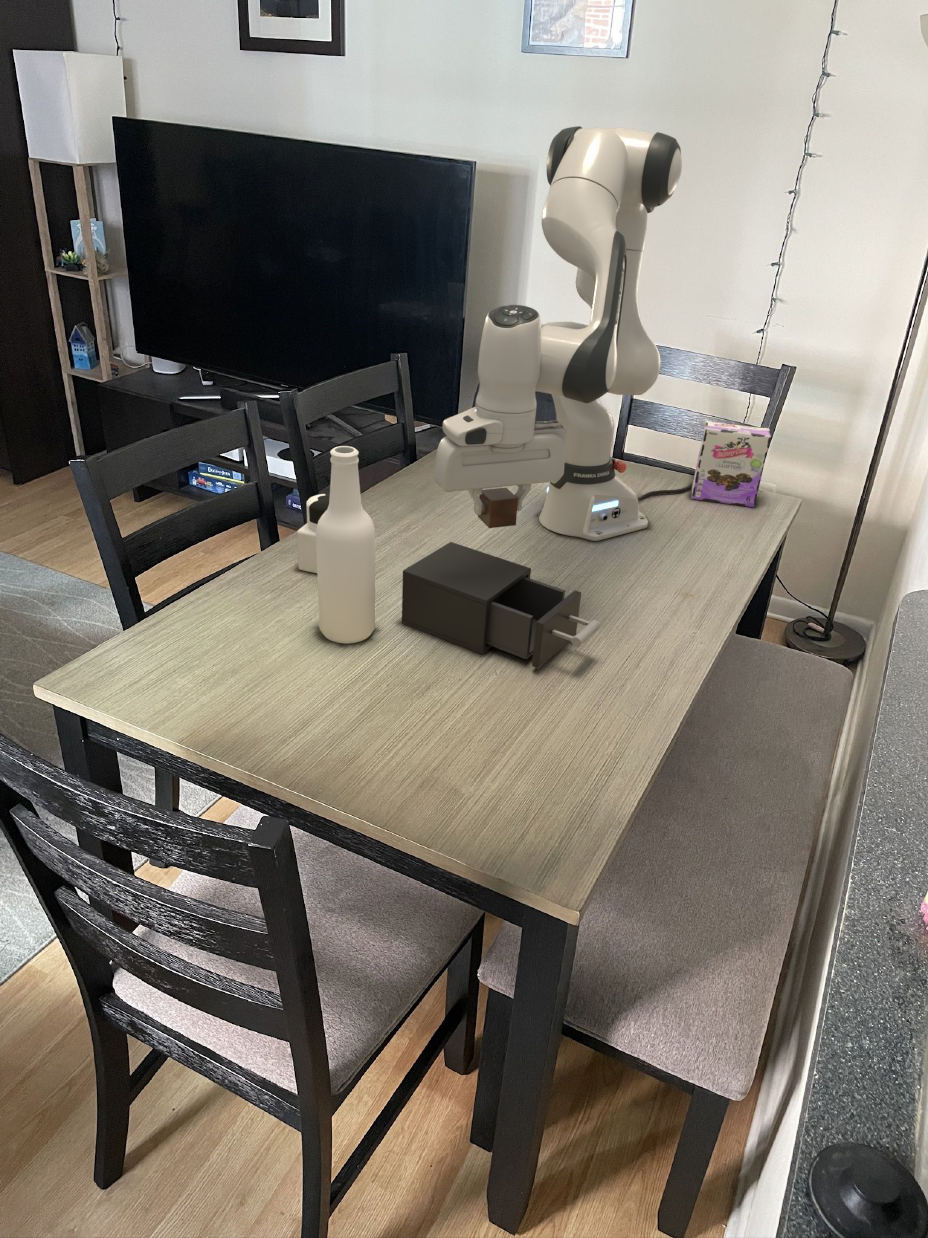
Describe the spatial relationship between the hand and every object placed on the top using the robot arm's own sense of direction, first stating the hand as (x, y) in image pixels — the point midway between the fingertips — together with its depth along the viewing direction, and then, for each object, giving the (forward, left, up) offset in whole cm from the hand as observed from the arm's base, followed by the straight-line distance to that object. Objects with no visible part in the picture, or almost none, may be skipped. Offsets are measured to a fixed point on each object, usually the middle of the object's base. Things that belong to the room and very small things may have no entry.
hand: (497, 511), depth 137 cm
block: (0, 0, -2) cm, 2 cm away
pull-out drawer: (-3, +9, -19) cm, 21 cm away
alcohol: (+23, -4, -20) cm, 31 cm away
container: (+20, -27, -20) cm, 39 cm away
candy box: (-72, -33, -20) cm, 82 cm away
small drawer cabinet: (+4, -1, -20) cm, 20 cm away
